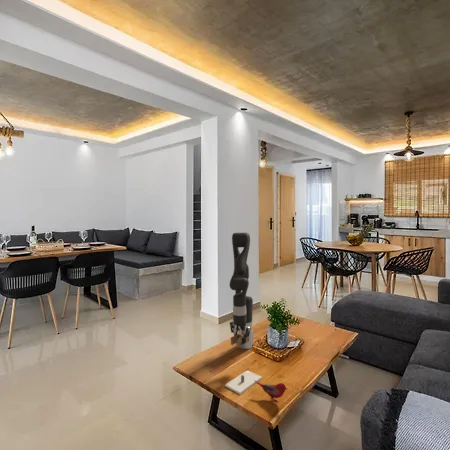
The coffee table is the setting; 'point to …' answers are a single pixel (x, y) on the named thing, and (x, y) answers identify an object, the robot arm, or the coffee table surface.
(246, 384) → the peg board
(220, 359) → the coffee table surface
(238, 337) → the slotted block
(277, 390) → the decorative bird figurine
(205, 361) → the coffee table surface
